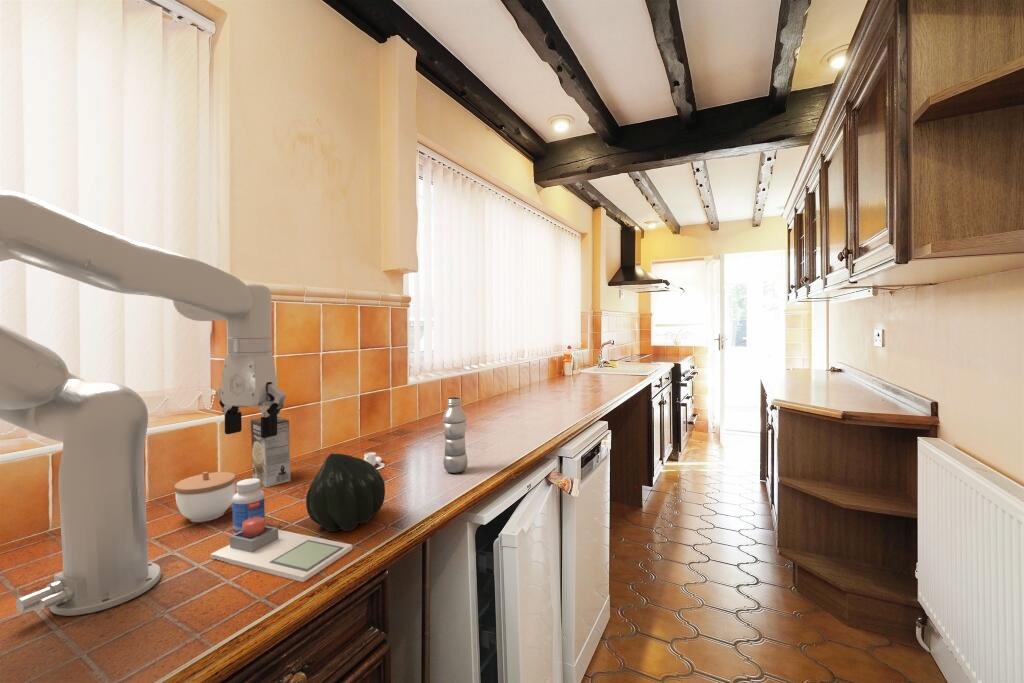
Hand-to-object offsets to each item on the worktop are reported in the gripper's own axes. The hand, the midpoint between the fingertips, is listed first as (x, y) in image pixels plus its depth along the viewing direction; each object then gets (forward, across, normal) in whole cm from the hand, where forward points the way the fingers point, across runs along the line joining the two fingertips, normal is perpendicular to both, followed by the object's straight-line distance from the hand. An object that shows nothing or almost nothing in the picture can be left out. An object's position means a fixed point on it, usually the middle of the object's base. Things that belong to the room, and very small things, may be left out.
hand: (250, 434), depth 89 cm
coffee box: (+18, -21, +22) cm, 36 cm away
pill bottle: (+19, 0, -1) cm, 19 cm away
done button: (+16, +7, -5) cm, 18 cm away
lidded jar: (+19, -15, +1) cm, 24 cm away
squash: (+19, +16, +9) cm, 26 cm away
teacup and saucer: (+18, -2, +42) cm, 46 cm away
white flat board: (+19, +14, -5) cm, 24 cm away
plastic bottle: (+18, +22, +44) cm, 52 cm away
